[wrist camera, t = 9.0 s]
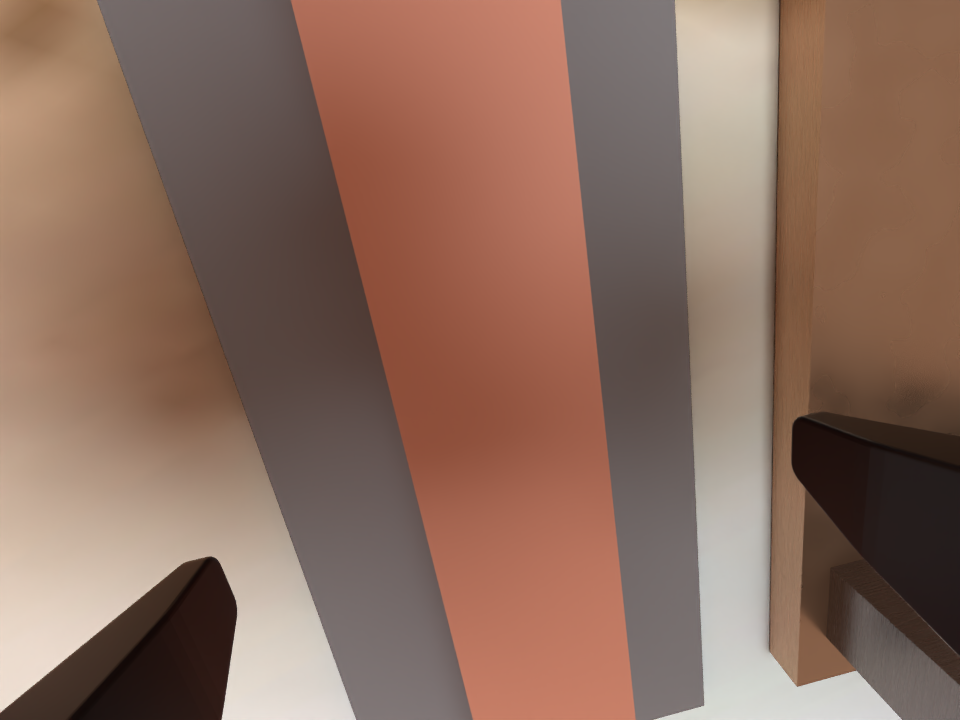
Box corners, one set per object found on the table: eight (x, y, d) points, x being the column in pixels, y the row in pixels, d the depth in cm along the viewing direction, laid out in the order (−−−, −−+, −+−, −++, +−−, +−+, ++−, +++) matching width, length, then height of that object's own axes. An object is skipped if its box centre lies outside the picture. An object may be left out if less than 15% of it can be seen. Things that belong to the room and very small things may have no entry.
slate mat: (695, 690, 21) (703, 705, 20) (383, 776, 20) (383, 794, 19) (641, -438, 10) (654, -473, 10) (-23, -370, 9) (-50, -405, 9)
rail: (597, 693, 19) (646, 820, 15) (486, 724, 19) (508, 860, 15) (461, -300, 10) (500, -575, 6) (244, -274, 10) (151, -551, 6)
